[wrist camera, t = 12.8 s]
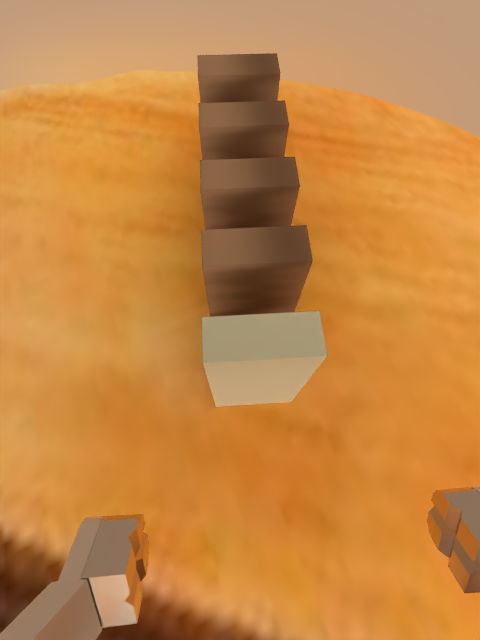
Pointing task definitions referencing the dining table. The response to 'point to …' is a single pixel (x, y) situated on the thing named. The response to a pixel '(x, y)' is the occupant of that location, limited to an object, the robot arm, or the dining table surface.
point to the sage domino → (261, 356)
